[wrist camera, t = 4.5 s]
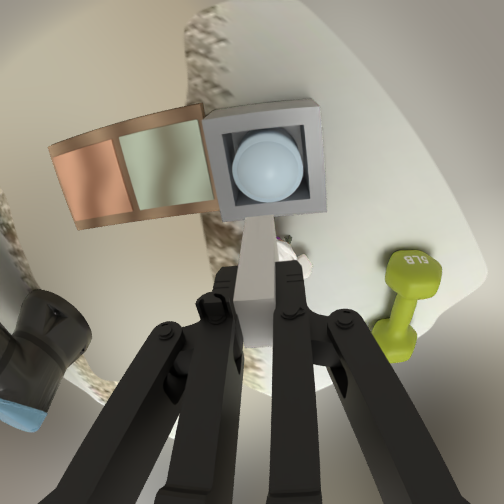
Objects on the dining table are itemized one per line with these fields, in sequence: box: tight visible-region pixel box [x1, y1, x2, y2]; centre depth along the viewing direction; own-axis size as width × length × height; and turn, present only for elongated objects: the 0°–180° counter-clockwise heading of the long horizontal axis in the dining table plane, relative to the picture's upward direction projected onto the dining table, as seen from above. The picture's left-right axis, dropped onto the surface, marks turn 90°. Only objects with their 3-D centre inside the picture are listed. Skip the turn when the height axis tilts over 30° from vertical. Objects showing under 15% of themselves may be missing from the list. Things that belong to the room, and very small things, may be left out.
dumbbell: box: [371, 250, 442, 363], centre depth 40 cm, size 16×8×7 cm, turn 3°
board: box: [48, 103, 220, 230], centre depth 34 cm, size 20×12×2 cm, turn 98°
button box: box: [202, 98, 327, 222], centre depth 30 cm, size 10×10×6 cm
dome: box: [232, 127, 303, 203], centre depth 28 cm, size 6×6×7 cm
